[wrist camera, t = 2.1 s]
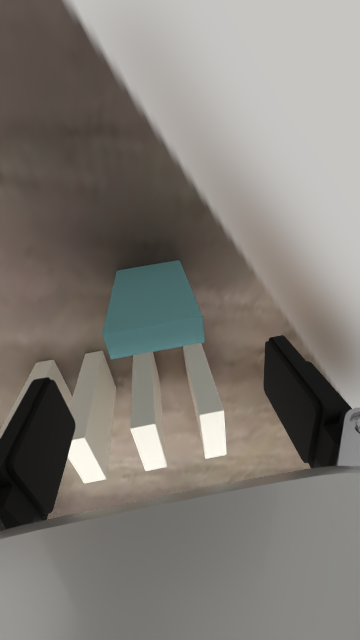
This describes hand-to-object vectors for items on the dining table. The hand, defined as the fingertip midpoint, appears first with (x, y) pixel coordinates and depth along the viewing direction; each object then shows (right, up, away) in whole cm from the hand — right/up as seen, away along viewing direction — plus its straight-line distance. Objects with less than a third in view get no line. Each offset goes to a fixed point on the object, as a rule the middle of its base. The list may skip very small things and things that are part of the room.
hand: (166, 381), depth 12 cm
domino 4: (+2, -1, +14) cm, 14 cm away
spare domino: (-2, +6, +9) cm, 11 cm away
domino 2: (-7, -2, +14) cm, 16 cm away
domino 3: (-3, -2, +14) cm, 14 cm away
